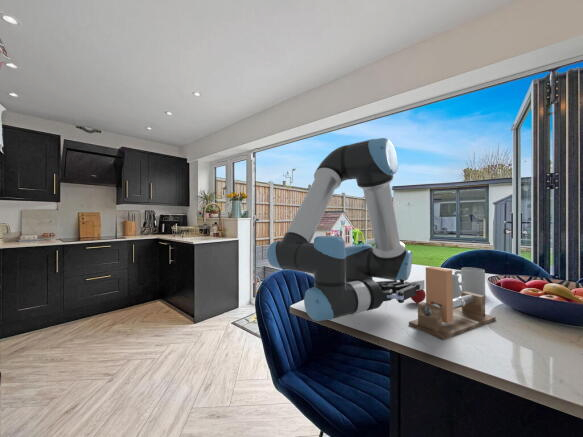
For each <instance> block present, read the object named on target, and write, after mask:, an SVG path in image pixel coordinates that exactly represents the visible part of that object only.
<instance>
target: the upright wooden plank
mask: <svg viewBox="0 0 583 437" xmlns="http://www.w3.org/2000/svg"><path fill="white" fill-rule="evenodd" d="M452 275H453V269H448V268H443V267H441V268H440V267H435V266H428V267H427V266H425V295H426V296H425V303H427V304H430V305H431V304H435V303H438V304H441V305H442V322H445V323H449V322H452V321H453V287H452Z"/></svg>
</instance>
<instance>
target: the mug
mask: <svg viewBox="0 0 583 437" xmlns="http://www.w3.org/2000/svg"><path fill="white" fill-rule="evenodd" d="M458 274H459V275H461V281H459V280H458V282H459V286H461V292H465V291H466V292H471V293H475V294H479V295H483V296H485V297H486V271H485V269H483V268H478V267H461V270H455V271H454V274H453V275H458Z"/></svg>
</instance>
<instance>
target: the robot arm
mask: <svg viewBox="0 0 583 437" xmlns="http://www.w3.org/2000/svg"><path fill="white" fill-rule="evenodd" d="M398 168H399V164H398V155H397V153H396V149H395V146H394V144H393V143H392V142H391V140H389V139H388V138H386V137H381V138H371V139H367V140H363V141H359V142H355V143H350V144H345V145H341V146H338V147H337V148H336V149H334V150H332V151H331V152H330V153H329V154H328V155H327V156H326V157H325V158H324V159H322V161H321V162H320V164H319V165H318V167H317V168H316V169H315V171H314V173H313V179H314V180H313V182H312V183H311V185H310V187H309V189H308V191H307V193H306V194H305V197H304V198H303V201H302V202H301V204H300V205H299V207H298V210H297V211H296V213H295V215H294V217H293V219H292V221H291V223H290V224H289V226H288V228H287V229H286V231H285V234H284V236H283V238H282V239H281V240H275V241H273V242H272V243H270V244H269V246H268V248H267V252H266V256H267V261H268V263H269V265H271V267H274V268H276V269H280V270H283V271H285V270H289V271H297V272H301V273H306V274H313V277H314V278H313V283H314V286H313V287H311V288H308V289H307V290H306V291H305V293H304V296H303V305H304V309H305V312H306V313H307V316H308V317H309V318H310V319H311V320H312V321H314V322H321V321H327V320H330V321H331V320H333V319H337V318H340V317H343V316H344V317H345V316H348V315H352V316H354V315H355V314H357V313H361V312H362V313H363V312H366V311H368V312H369V311H372V310H375V309H379V308H380V307H381V305H382V304H383V303H384V302H389V301H392V300H396V301H397V302H398V303H399V304H403V303H404V302H405V301H407V300H408V299H411V297H413V296H415V295H416V291H417V290H422V289H423V290H426V287H425V279H422V278H416V279H411V280H408V279H409V277H410V276H411V270H412V265H413V252H412V250H409V249H406V245H405V243H404V242H402V241H400V235H399V229H398V225H397V218H396V211H395V206H394V203H393V202H394V200H393V196H392V195H393V194H392V191H391V190H392V189H391V185H390V184H391V182H392V181H393V180H394V175H395V174H397V172H398ZM348 180H356V184H357V187H358V188H360V189H361V190H362V189H363V195H364V199H365V203H366V207H367V212H368V217H369V222H370V227H371V230H372V235H373V239H374V246H373V245H372V244H371V243H370V244H368V243H367V244H366V243H365V244H364V243H363V244H354V245H349V246H346V242H345V239H344V238H343V237H341V236H340V235H339V236H338V235H318V236H315V237H314V235H315V233H316V231H317V229H318V227H319V224H320V223H321V220H322V219H323V216H324V214H325V211H326V209H327V207H328V205H329V203H330V201H331V199H332V196H333V194H334V192H335V190H337V189H338V188H339V187H340V186H341V185H342V183H343V182H344V181H348ZM312 239H313V242H312ZM373 278H376V279H377V278H378V279H383V280H382V281H376V280H374V279H373Z"/></svg>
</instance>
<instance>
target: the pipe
mask: <svg viewBox="0 0 583 437" xmlns="http://www.w3.org/2000/svg"><path fill="white" fill-rule="evenodd" d="M475 302H476V298H475V297H474V296H473V295H465V296H462V297H456V298H454V299H453V309H456V308H460V307H464V306H466V305H470V304H473V303H475ZM431 305H434V306H437V307H440V308H442V305H441V304H438V303H435V304H431ZM425 307H427V306H424V308H425ZM424 308H423V310H422V311H423V314H424V315H425V316H427V315H429V313H430V315H429V316H431V310H430V311H429V310H428V311H427V308H428V309H430V308H429V307H427V308H425V310H424ZM424 311H426V313H425V312H424ZM426 314H427V315H426ZM429 316H428V317H429Z"/></svg>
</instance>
